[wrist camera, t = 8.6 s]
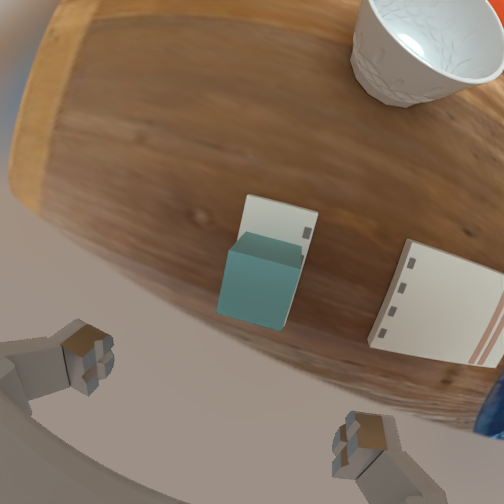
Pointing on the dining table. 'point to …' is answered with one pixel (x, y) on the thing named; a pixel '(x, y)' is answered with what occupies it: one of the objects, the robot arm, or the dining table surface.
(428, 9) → the white cup
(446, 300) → the ticket
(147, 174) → the dining table surface
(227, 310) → the stub
